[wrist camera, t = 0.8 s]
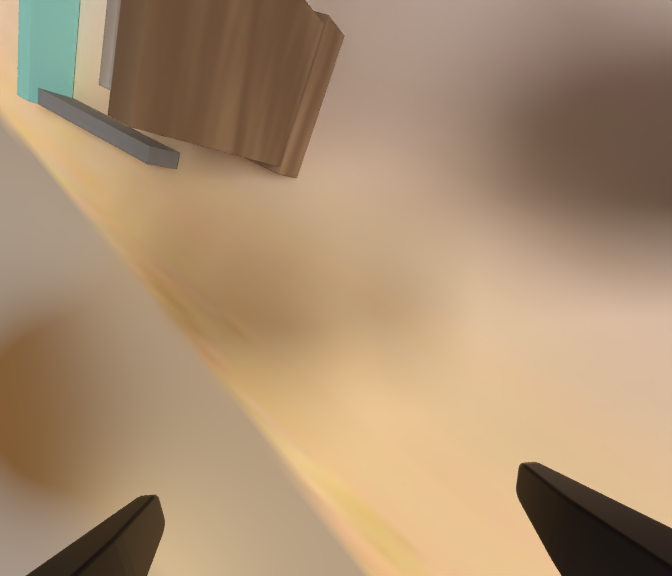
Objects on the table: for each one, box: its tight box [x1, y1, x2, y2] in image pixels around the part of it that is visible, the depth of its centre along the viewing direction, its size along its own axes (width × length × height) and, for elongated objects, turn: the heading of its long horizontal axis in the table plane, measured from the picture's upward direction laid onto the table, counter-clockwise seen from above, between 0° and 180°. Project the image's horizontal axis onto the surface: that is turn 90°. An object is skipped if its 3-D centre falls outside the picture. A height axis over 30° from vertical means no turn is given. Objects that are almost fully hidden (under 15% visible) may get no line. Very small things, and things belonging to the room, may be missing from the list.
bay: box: [17, 0, 180, 169], centre depth 23 cm, size 15×14×3 cm
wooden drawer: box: [99, 0, 344, 178], centre depth 16 cm, size 14×8×11 cm, turn 67°
